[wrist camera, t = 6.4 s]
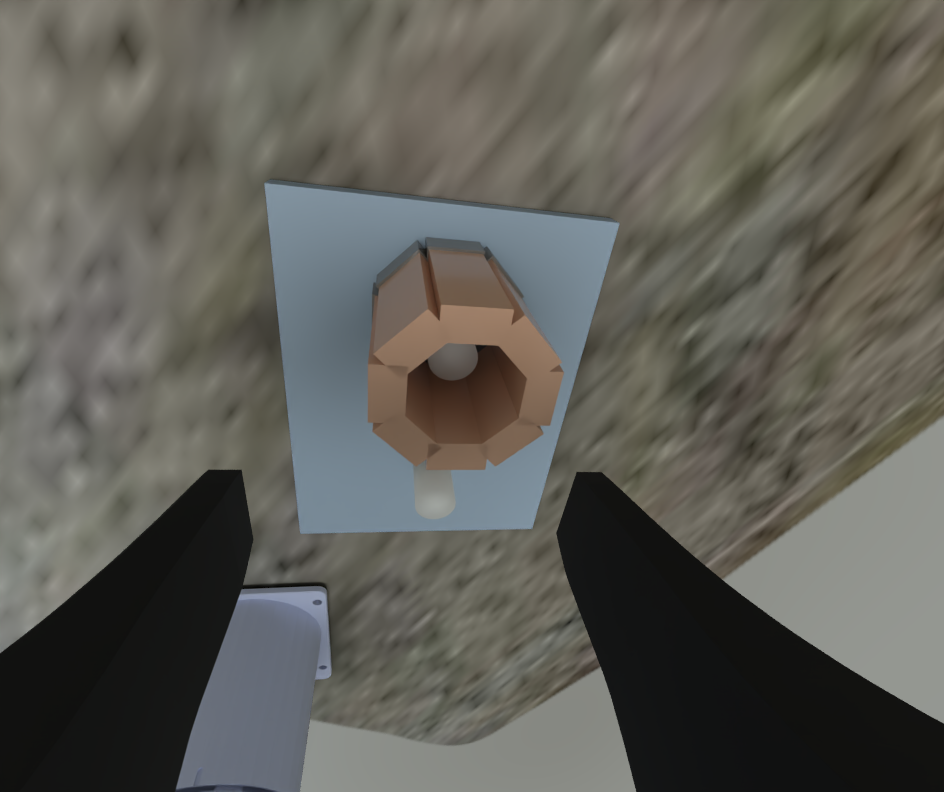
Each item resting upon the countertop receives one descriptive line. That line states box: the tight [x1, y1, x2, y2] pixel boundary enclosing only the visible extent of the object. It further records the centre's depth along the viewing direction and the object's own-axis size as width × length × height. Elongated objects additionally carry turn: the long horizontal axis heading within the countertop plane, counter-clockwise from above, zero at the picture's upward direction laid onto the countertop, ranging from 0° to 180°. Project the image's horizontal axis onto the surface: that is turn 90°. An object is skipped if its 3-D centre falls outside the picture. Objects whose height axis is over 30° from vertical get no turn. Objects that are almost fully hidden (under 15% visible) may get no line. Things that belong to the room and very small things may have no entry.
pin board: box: [264, 179, 619, 534], centre depth 18 cm, size 16×12×4 cm
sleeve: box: [368, 237, 564, 470], centre depth 15 cm, size 5×5×6 cm
